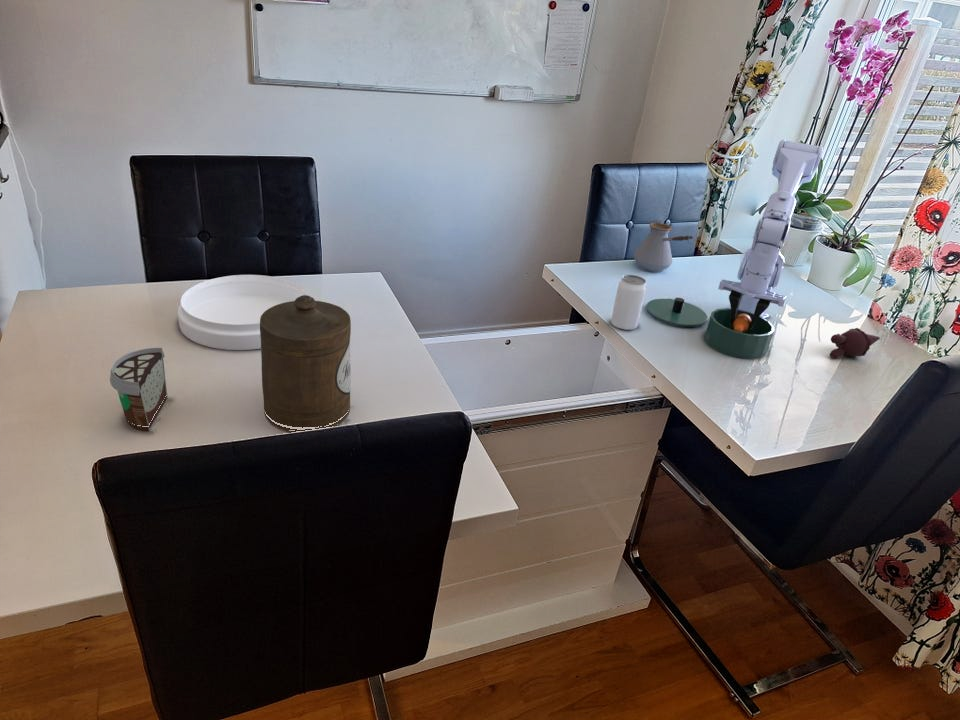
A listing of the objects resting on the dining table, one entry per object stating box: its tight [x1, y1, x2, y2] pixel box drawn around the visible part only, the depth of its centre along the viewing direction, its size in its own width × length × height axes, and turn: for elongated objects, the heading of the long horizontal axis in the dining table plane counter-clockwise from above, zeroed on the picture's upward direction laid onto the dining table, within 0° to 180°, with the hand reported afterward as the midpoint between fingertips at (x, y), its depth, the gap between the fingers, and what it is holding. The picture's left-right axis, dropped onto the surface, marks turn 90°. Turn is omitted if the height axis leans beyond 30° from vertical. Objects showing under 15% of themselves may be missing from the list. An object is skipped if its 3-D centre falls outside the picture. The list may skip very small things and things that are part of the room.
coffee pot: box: [633, 222, 696, 273], centre depth 193 cm, size 21×12×15 cm, turn 18°
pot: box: [704, 307, 775, 360], centre depth 158 cm, size 14×14×6 cm
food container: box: [109, 347, 169, 433], centre depth 110 cm, size 12×6×10 cm, turn 5°
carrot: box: [733, 314, 751, 333], centre depth 157 cm, size 10×4×4 cm
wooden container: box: [260, 294, 352, 433], centre depth 113 cm, size 15×15×22 cm
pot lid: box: [645, 297, 708, 328], centre depth 170 cm, size 15×15×4 cm
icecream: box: [829, 327, 881, 359], centre depth 159 cm, size 7×7×15 cm
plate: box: [177, 274, 306, 351], centre depth 144 cm, size 27×27×6 cm
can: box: [610, 274, 647, 331], centre depth 160 cm, size 6×6×12 cm
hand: (741, 324), depth 157 cm, fingers closed on carrot, 3 cm apart
